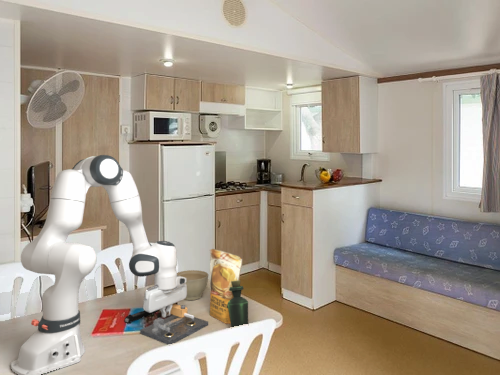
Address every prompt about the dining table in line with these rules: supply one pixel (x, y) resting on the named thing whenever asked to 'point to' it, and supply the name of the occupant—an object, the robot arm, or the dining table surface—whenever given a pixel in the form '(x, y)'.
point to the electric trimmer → (138, 316)
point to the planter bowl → (194, 283)
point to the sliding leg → (180, 311)
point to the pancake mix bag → (222, 282)
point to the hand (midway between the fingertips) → (166, 316)
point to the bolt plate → (173, 328)
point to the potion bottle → (237, 305)
